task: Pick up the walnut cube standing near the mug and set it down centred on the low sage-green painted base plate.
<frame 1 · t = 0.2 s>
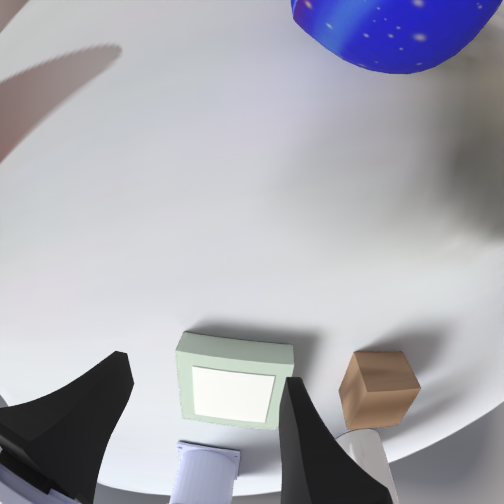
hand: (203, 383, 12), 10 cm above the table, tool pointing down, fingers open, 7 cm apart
base plate: (234, 377, 24), on the table
ornament: (361, 26, 14), on the table
walnut cube: (370, 371, 24), on the table
mug: (353, 434, 27), on the table
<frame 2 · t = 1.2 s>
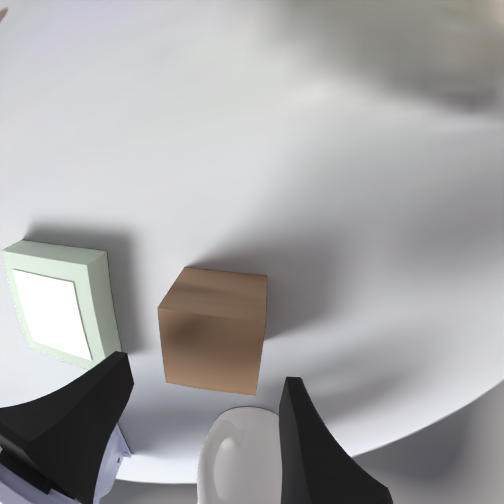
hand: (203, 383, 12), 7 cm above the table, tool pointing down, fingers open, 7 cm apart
base plate: (67, 299, 19), on the table
walnut cube: (223, 306, 18), on the table
mug: (243, 414, 22), on the table
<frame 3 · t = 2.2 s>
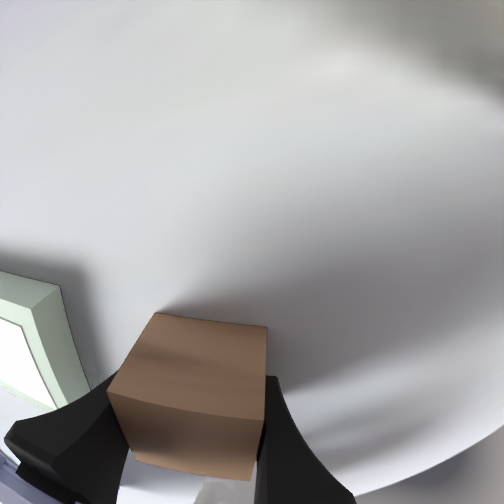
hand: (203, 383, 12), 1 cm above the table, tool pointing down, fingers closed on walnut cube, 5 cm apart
base plate: (27, 335, 14), on the table
walnut cube: (208, 362, 13), on the table, touching gripper
mug: (239, 465, 17), on the table
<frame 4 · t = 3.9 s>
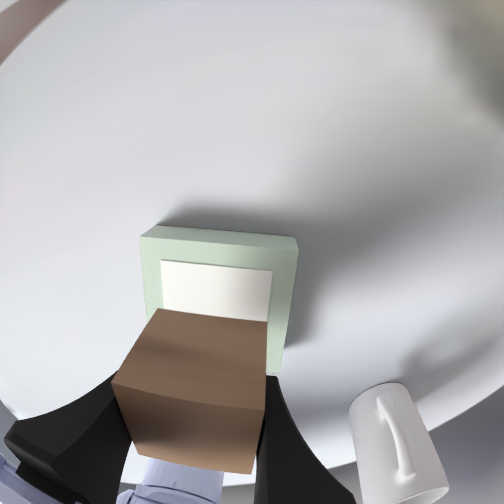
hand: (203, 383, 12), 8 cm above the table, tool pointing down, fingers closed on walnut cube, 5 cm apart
base plate: (220, 294, 20), on the table
walnut cube: (210, 357, 13), point 7 cm above the table, touching gripper
mug: (376, 392, 23), on the table
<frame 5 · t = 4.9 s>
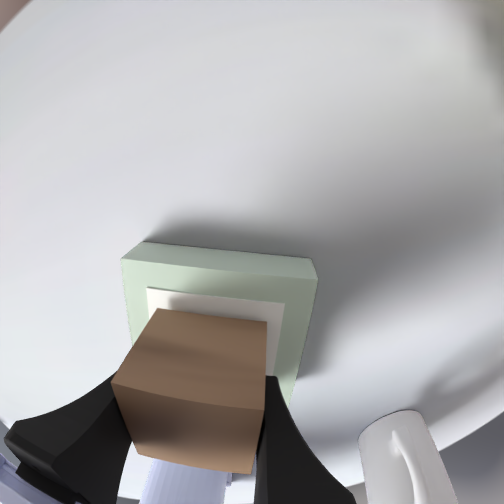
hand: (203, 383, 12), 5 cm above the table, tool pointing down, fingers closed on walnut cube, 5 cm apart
base plate: (219, 323, 16), on the table
walnut cube: (210, 357, 13), point 3 cm above the table, touching gripper
mug: (389, 420, 19), on the table
when the fingers open (5 cm above the table, at t = 5.5 s): walnut cube stays where it is, resting on base plate.
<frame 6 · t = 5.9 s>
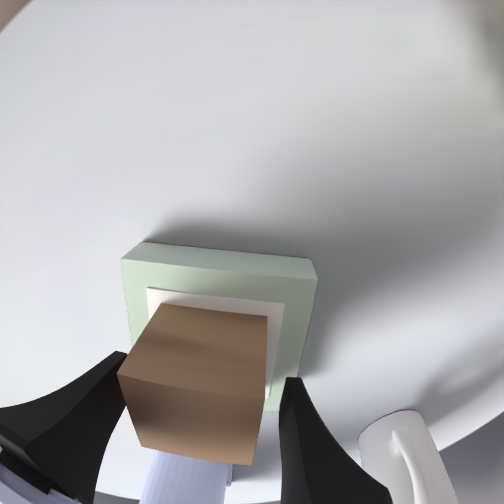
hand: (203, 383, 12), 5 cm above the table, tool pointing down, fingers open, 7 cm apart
base plate: (219, 323, 16), on the table
walnut cube: (211, 351, 14), point 3 cm above the table, touching base plate
mug: (389, 420, 19), on the table
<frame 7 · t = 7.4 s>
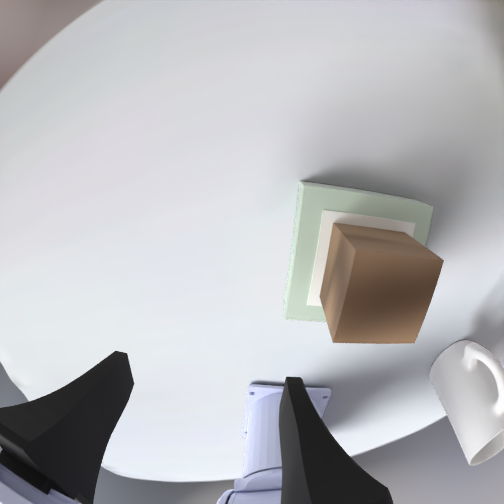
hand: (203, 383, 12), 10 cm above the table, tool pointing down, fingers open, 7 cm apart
base plate: (352, 251, 20), on the table
walnut cube: (363, 264, 18), point 3 cm above the table, touching base plate
mug: (452, 351, 23), on the table
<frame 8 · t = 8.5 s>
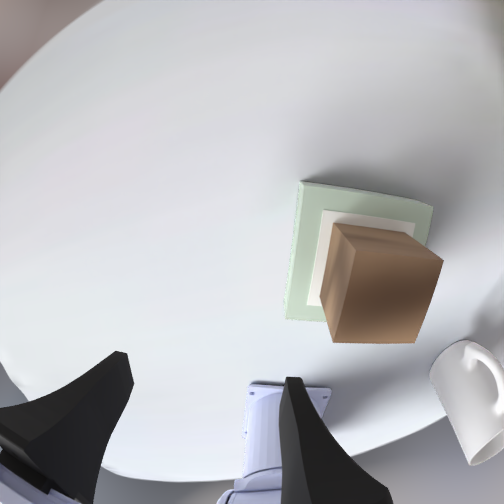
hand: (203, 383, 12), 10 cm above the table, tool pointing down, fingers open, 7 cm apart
base plate: (352, 251, 20), on the table
walnut cube: (363, 264, 18), point 3 cm above the table, touching base plate
mug: (452, 351, 23), on the table
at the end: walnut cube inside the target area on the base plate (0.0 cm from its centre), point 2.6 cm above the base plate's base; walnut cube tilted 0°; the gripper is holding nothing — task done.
